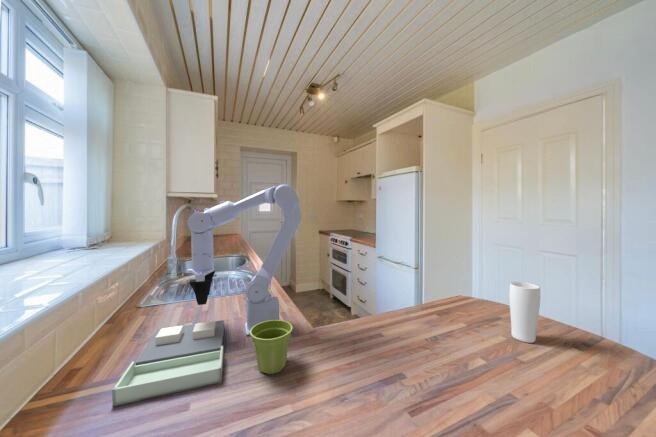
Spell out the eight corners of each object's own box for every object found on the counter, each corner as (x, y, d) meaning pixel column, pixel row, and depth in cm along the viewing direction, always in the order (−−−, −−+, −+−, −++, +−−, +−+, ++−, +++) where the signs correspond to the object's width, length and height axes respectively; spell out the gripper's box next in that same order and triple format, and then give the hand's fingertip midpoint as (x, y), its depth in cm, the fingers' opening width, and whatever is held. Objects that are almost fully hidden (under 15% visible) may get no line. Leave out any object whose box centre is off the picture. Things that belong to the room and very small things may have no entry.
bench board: (224, 328, 74) (224, 320, 74) (221, 357, 59) (221, 347, 59) (157, 338, 68) (157, 329, 68) (135, 373, 53) (135, 362, 53)
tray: (223, 357, 59) (223, 345, 59) (221, 382, 51) (221, 368, 51) (132, 375, 53) (132, 361, 53) (112, 406, 44) (112, 390, 44)
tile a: (215, 327, 69) (215, 320, 69) (214, 336, 65) (214, 328, 64) (195, 330, 67) (195, 323, 67) (192, 339, 63) (192, 331, 63)
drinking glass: (534, 335, 70) (535, 283, 69) (543, 347, 64) (544, 290, 63) (505, 330, 73) (506, 280, 72) (511, 341, 67) (512, 286, 66)
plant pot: (254, 385, 50) (254, 343, 49) (247, 360, 58) (246, 324, 58) (298, 372, 54) (298, 332, 54) (285, 350, 62) (285, 316, 62)
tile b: (183, 332, 66) (183, 325, 66) (179, 341, 62) (179, 333, 62) (161, 335, 65) (161, 328, 65) (155, 345, 60) (155, 337, 60)
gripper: (191, 250, 77) (192, 293, 77) (182, 258, 64) (183, 310, 64) (215, 249, 80) (216, 290, 80) (212, 256, 66) (213, 307, 66)
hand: (203, 299), depth 72 cm, fingers open, 7 cm apart
